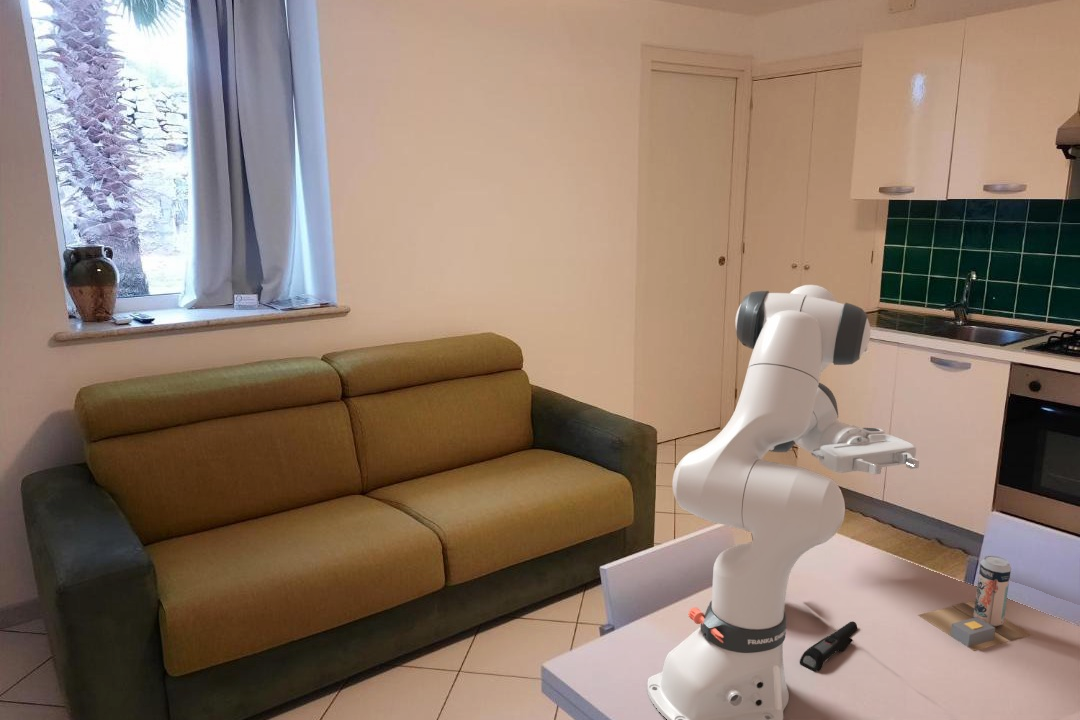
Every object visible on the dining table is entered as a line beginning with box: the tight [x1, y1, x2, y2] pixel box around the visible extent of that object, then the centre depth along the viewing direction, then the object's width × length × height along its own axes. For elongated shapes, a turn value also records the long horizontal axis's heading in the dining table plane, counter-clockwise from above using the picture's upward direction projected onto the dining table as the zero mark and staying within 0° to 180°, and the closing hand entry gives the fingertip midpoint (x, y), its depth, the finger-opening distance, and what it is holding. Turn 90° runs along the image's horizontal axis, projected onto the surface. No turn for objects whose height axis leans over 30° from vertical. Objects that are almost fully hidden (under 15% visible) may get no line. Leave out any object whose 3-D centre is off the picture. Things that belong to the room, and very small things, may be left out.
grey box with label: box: [949, 617, 995, 648], centre depth 133 cm, size 6×4×3 cm, turn 110°
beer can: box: [973, 555, 1012, 626], centre depth 137 cm, size 5×5×12 cm
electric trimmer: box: [799, 621, 858, 673], centre depth 132 cm, size 4×16×3 cm, turn 130°
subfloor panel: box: [917, 600, 1033, 652], centre depth 137 cm, size 14×12×2 cm
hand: (897, 467), depth 147 cm, fingers open, 8 cm apart
